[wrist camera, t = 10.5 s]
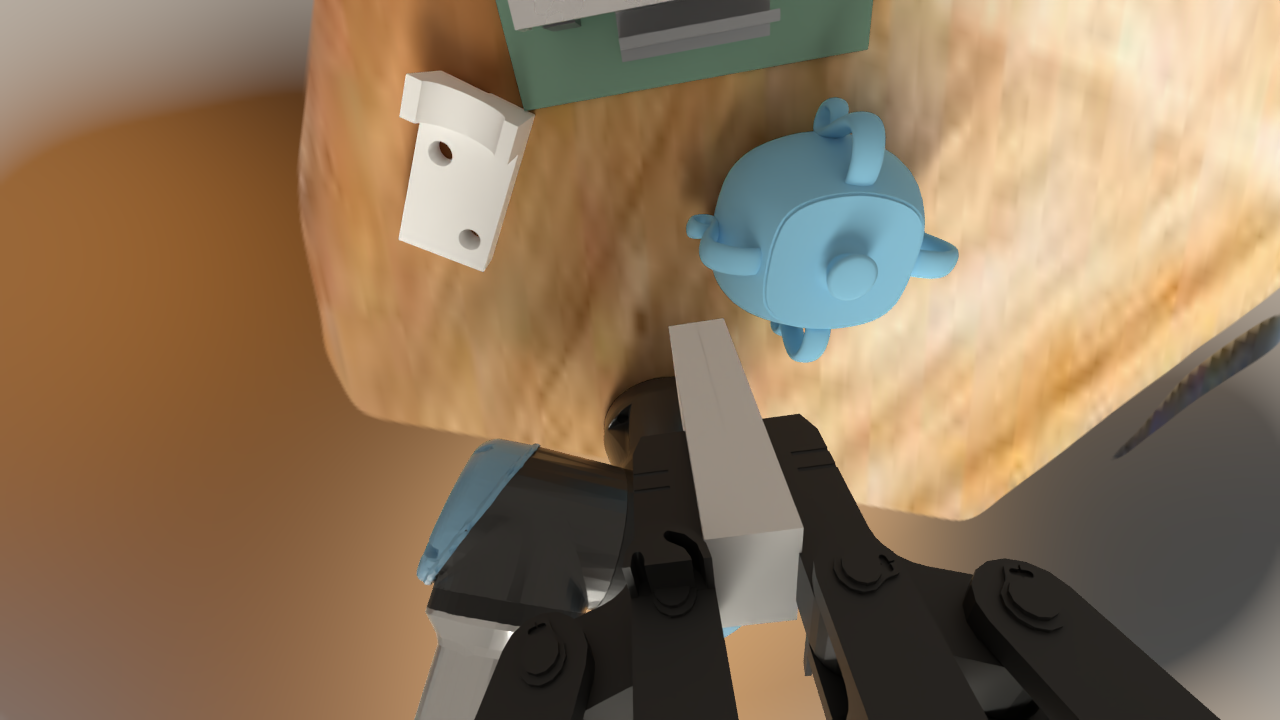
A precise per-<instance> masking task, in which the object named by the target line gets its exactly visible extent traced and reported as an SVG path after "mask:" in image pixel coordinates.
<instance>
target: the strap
mask: <svg viewBox="0 0 1280 720" xmlns="http://www.w3.org/2000/svg"><path fill="white" fill-rule="evenodd" d="M670 1H675V0H508V4H509V8H510V12H511V16H512V20H513V24H514V28H515V30H517V31H521V32H525V31H530V30H532V28H533V27H538V26H544V25H549V24H554V23H559V22H565V21H570V20H575V19H581V18H586V17H591V16H596V15H602V14H607V13H612V12H617V11H623V10H628V9H633V8H638V7H644V6H649V5H654V4H659V3H665V2H670Z"/></svg>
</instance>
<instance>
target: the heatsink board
mask: <svg viewBox="0 0 1280 720" xmlns="http://www.w3.org/2000/svg"><path fill="white" fill-rule="evenodd" d="M496 4H497V8H498V12H499V16H500V19H501V23H502V27H503V31H504V35H505V39H506V43H507V46H508V50H509V54H510V58H511V62H512V66H513V69H514V73H515V77H516V81H517V85H518V89H519V93H520V96H521V100H522V104H523V108H524V111H528V110H534V109H539V108H545V107H550V106H556V105H561V104H567V103H573V102H578V101H584V100H589V99H595V98H600V97H606V96H611V95H617V94H623V93H628V92H634V91H639V90H645V89H650V88H656V87H662V86H667V85H673V84H678V83H684V82H689V81H695V80H700V79H706V78H712V77H717V76H723V75H728V74H734V73H739V72H745V71H751V70H756V69H762V68H767V67H773V66H778V65H784V64H790V63H795V62H801V61H806V60H812V59H817V58H823V57H828V56H834V55H840V54H845V53H851V52H856V51H862V50H867V49H868V44H869V34H870V25H871V15H872V5H873V0H675V1H670V2H665V3H659V4H654V5H649V6H644V7H638V8H633V9H628V10H623V11H617V12H612V13H607V14H602V15H596V16H591V17H586V18H581V19H575V20H570V21H565V22H559V23H554V24H549V25H544V26H538V27H533V28H532V30H530V31H525V32H521V31H517V30H515V28H514V24H513V20H512V16H511V12H510V8H509V4H508V0H496Z"/></svg>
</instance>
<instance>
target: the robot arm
mask: <svg viewBox="0 0 1280 720" xmlns="http://www.w3.org/2000/svg"><path fill="white" fill-rule="evenodd" d="M668 327H669V334H670V342H671V349H672V356H673V364H674V371H675V377H666V378H657V379H652V380H648V381H645V382H642V383H640V384H638V385H635V386H633V387H632V388H630V389H628V390H627V391H625V392H624V393H623V394H621V395H620V396H619V397H618V398H617V399H616V400H615V401H614V403H613V404H612V405H611V407H610V409H609V411H608V413H607V415H606V418H605V424H604V446H605V450H606V453H607V456H608V458H609V461H610V463H611V465H609V464H605V463H601V462H597V461H593V460H589V459H585V458H581V457H577V456H573V455H569V454H565V453H562V452H558V451H554V450H550V449H546V448H542V447H540V445H539V444H533V445H529V444H523V443H518V442H513V441H508V440H503V439H492V440H489V441H486V442H485V443H483V444H481V445H480V446H479V447H478V448H477V449H476V450H475V451H474V453H473V454H472V456H471V457H470V459H469V460H468V462H467V464H466V466H465V467H464V469H463V471H462V472H461V474H460V476H459V478H458V480H457V482H456V484H455V486H454V488H453V489H452V491H451V493H450V495H449V497H448V499H447V502H446V503H445V505H444V507H443V510H442V512H441V514H440V516H439V518H438V520H437V522H436V524H435V527H434V529H433V531H432V534H431V536H430V538H429V542H428V544H427V546H426V549H425V552H424V554H423V555H422V557H421V560H420V562H419V565H418V569H417V576H418V579H420V580H421V581H423V582H424V584H425V585H431V584H432V583H434V586H433V590H432V593H431V596H430V599H429V602H428V605H427V608H426V614H427V616H428V618H429V620H430V622H431V624H432V626H433V628H434V630H435V632H436V634H437V640H438V645H437V648H436V652H435V655H434V658H433V661H432V664H431V668H430V671H429V674H428V677H427V680H426V684H425V687H424V690H423V693H422V697H421V700H420V703H419V707H418V710H417V713H416V716H415V719H414V720H739V719H738V713H737V708H736V702H735V696H734V691H733V685H732V680H731V674H730V668H729V662H728V657H727V651H726V645H725V640H724V637H726V636H728V635H730V634H731V633H733V632H734V631H736V630H737V629H738V628H740V627H741V626H744V625H753V624H762V623H771V622H780V621H789V620H797V611H798V609H799V612H800V615H801V618H802V621H803V625H804V628H805V631H806V642H805V652H804V670H805V676H811V675H812V674H813V677H814V680H815V683H816V687H817V690H818V693H819V696H820V700H821V703H822V706H823V710H824V713H825V716H826V720H1220V719H1219V718H1218V717H1216V715H1215V714H1213V713H1212V712H1211V711H1210V710H1209V709H1208V708H1207V707H1205V706H1204V705H1203V704H1202V703H1201V702H1200V701H1199V700H1198V699H1196V698H1195V697H1194V696H1193V695H1192V694H1190V692H1189V691H1187V690H1186V689H1185V688H1184V687H1183V686H1182V685H1181V684H1180V683H1178V682H1177V681H1176V680H1175V679H1174V678H1173V677H1172V676H1170V675H1169V674H1168V673H1167V672H1166V671H1165V670H1164V669H1162V668H1161V667H1160V666H1159V665H1158V664H1157V663H1156V662H1155V661H1154V660H1152V659H1151V658H1150V657H1149V656H1148V655H1147V654H1146V653H1144V652H1143V651H1142V650H1141V649H1140V648H1139V647H1138V646H1136V645H1135V644H1134V643H1133V642H1132V641H1131V640H1130V639H1129V638H1127V637H1126V636H1125V635H1124V634H1123V633H1122V632H1121V631H1120V630H1118V629H1117V628H1116V627H1115V626H1114V625H1113V624H1112V623H1111V622H1109V621H1108V620H1107V619H1106V618H1105V617H1104V616H1102V615H1101V614H1100V613H1099V612H1098V611H1097V610H1096V609H1095V608H1093V607H1092V606H1091V605H1090V604H1089V603H1088V602H1087V601H1086V600H1084V599H1083V598H1082V597H1081V596H1080V595H1079V594H1078V593H1076V592H1075V591H1074V590H1073V589H1072V588H1071V587H1070V586H1068V585H1067V584H1065V583H1064V582H1063V581H1061V580H1060V579H1058V578H1057V577H1056V576H1054V575H1053V574H1051V573H1050V572H1048V571H1046V570H1043V569H1041V568H1039V567H1036V566H1034V565H1032V564H1029V563H1027V562H1023V561H1017V560H1010V559H998V560H992V561H987V562H985V563H984V564H983V565H981V566H980V567H979V568H978V569H976V570H975V572H974V575H972V574H966V573H961V572H955V571H950V570H945V569H939V568H933V567H928V566H924V565H921V564H917V563H913V562H911V561H909V560H906V559H904V558H902V557H900V556H898V555H896V554H895V553H894V552H893V551H891V550H890V549H889V548H887V547H886V546H884V545H883V544H882V543H881V542H880V541H879V540H878V539H877V538H876V537H875V536H874V535H873V533H872V532H871V530H870V529H869V527H868V525H867V524H866V521H865V519H864V518H863V516H862V514H861V512H860V510H859V508H858V506H857V504H856V502H855V500H854V498H853V496H852V494H851V492H850V491H849V489H848V487H847V485H846V483H845V481H844V479H843V477H842V475H841V473H840V471H839V469H838V467H836V465H835V462H834V460H833V458H832V456H831V454H830V452H829V451H828V450H827V446H826V444H825V442H824V440H823V438H822V437H821V435H820V433H819V431H818V429H817V428H816V427H815V426H814V425H812V424H811V423H810V422H809V421H808V420H806V419H805V418H804V417H803V416H802V415H800V414H794V415H787V416H780V417H772V418H765V419H762V417H761V415H760V412H759V409H758V407H757V404H756V402H755V399H754V396H753V394H752V391H751V389H750V386H749V383H748V381H747V378H746V375H745V373H744V370H743V368H742V365H741V362H740V360H739V357H738V354H737V352H736V349H735V347H734V344H733V341H732V339H731V336H730V334H729V331H728V328H727V326H726V323H725V320H724V318H721V319H714V320H708V321H701V322H694V323H688V324H681V325H674V326H668ZM587 609H588V610H591V611H589V612H587V613H586V610H587Z"/></svg>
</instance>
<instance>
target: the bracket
mask: <svg viewBox="0 0 1280 720" xmlns="http://www.w3.org/2000/svg"><path fill="white" fill-rule="evenodd" d="M399 117H401V118H403V119H405V120H408V121H410V122H412V123H414V124H415V123H419V129H418V134H417V140H416V146H415V151H414V157H413V162H412V168H411V173H410V179H409V184H408V190H407V195H406V201H405V206H404V212H403V217H402V223H401V228H400V234H399V240H401V241H404V242H406V243H409V244H411V245H414V246H417V247H419V248H422V249H424V250H427V251H430V252H432V253H435V254H437V255H440V256H443V257H445V258H448V259H450V260H453V261H456V262H458V263H461V264H463V265H466V266H469V267H471V268H474V269H477V270H479V271H482V272H484V271H485V269H486V268H487V266H488V264H489V263H490V261H491V260H492V258H493V255H494V251H495V248H496V245H497V241H498V238H499V235H500V231H501V228H502V225H503V221H504V218H505V215H506V211H507V208H508V205H509V201H510V198H511V195H512V191H513V188H514V185H515V181H516V178H517V175H518V171H519V168H520V164H521V161H522V158H523V154H524V151H525V148H526V144H527V141H528V138H529V134H530V131H531V128H532V124H533V121H534V118H535V114H533V113H531V112H529V111H524V109H523V108H521V107H519V106H517V105H515V104H512V103H510V102H508V101H506V100H504V99H502V98H500V97H498V96H496V95H494V94H492V93H487V92H484V91H482V90H480V89H478V88H476V87H474V86H472V85H470V84H468V83H466V82H464V81H462V80H460V79H458V78H456V77H454V76H452V75H450V74H447V73H445V72H443V71H430V72H419V73H408V74H406V78H405V84H404V91H403V97H402V103H401V110H400V116H399ZM440 141H441V142H443V143H445V144H446V145H448V146H449V148H450V149H451V152H452V160H451V159H448V158H446V157H445V156H444V155H443V154H442V152H441V150H440V147H439V144H440ZM471 230H473V231H475V232H476V233H477V234H478V235H479V237H478V236H476V235H474V234H473V233H472V232H471Z"/></svg>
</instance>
